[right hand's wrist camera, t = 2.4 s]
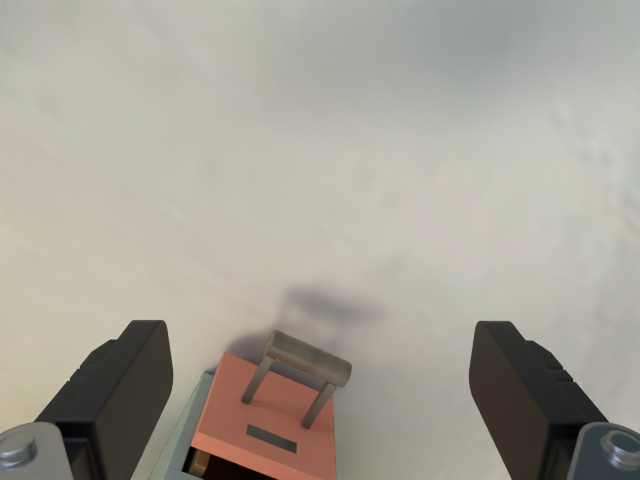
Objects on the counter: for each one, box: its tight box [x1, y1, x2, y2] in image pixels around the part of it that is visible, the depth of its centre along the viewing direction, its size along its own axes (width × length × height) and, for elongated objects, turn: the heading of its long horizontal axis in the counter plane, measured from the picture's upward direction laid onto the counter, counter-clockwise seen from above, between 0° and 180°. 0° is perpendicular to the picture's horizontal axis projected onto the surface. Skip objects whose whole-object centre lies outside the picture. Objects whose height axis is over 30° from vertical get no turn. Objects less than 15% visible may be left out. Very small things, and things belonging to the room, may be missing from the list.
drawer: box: [182, 330, 352, 480], centre depth 30 cm, size 18×9×8 cm, turn 152°
